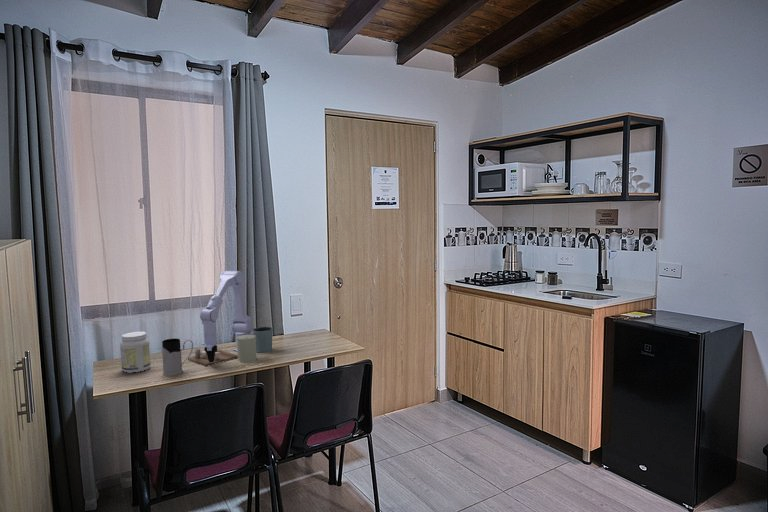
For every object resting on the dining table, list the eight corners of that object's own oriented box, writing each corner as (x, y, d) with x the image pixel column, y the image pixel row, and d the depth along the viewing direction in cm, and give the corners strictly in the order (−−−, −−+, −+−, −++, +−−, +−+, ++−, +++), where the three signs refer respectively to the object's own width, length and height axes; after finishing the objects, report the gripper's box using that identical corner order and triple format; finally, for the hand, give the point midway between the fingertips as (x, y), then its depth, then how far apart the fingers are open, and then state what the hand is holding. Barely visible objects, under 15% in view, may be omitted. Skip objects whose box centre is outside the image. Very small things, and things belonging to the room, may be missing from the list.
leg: (200, 358, 243) (200, 352, 242) (203, 356, 244) (202, 351, 244) (216, 359, 239) (216, 353, 239) (219, 358, 241) (218, 352, 241)
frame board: (220, 351, 258) (220, 342, 257) (238, 357, 247) (238, 347, 246) (187, 360, 244) (187, 349, 244) (205, 366, 233) (205, 355, 233)
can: (237, 363, 237) (236, 338, 236) (237, 358, 246) (236, 334, 245) (257, 361, 240) (256, 337, 239) (256, 356, 248) (255, 332, 247)
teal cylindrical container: (276, 348, 262) (275, 326, 261) (269, 354, 252) (268, 331, 251) (257, 348, 263) (256, 326, 262) (250, 353, 253) (249, 331, 252)
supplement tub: (143, 363, 239) (141, 329, 238) (155, 368, 231) (153, 333, 230) (117, 370, 230) (114, 334, 228) (128, 375, 222) (126, 338, 220)
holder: (159, 372, 225) (157, 340, 223) (190, 365, 235) (188, 335, 233) (166, 377, 218) (164, 344, 217) (198, 369, 228) (196, 338, 227)
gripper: (202, 330, 239) (204, 358, 240) (199, 338, 225) (200, 367, 226) (218, 329, 241) (219, 356, 242) (215, 336, 227) (217, 365, 228)
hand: (211, 361), depth 234 cm, fingers closed
